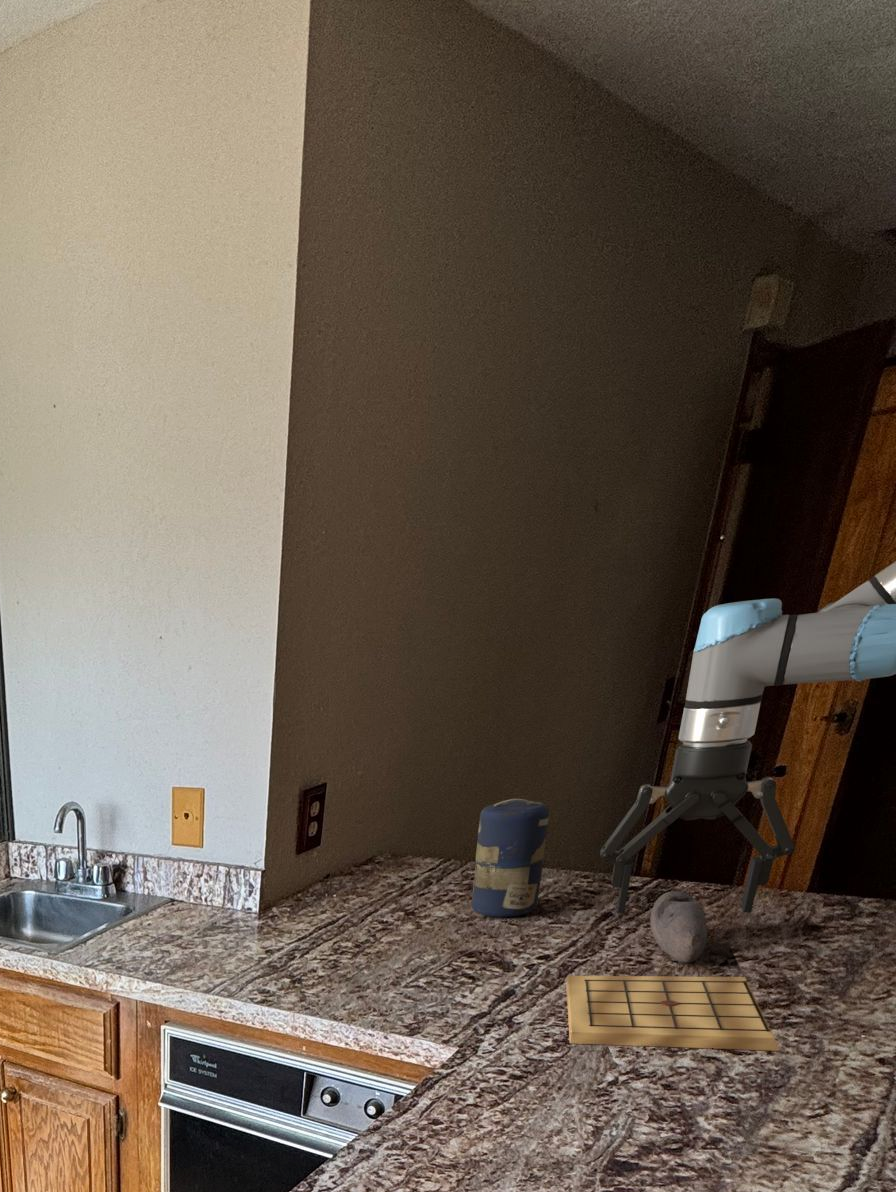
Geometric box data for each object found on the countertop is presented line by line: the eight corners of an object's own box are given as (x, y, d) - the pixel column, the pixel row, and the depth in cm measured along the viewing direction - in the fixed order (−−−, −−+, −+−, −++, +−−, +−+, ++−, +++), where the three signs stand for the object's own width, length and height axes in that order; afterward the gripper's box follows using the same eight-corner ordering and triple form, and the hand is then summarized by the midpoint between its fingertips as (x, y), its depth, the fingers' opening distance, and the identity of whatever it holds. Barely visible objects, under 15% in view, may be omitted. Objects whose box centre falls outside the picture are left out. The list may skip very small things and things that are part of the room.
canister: (485, 902, 167) (495, 792, 159) (547, 906, 160) (561, 791, 153) (460, 918, 162) (470, 804, 154) (523, 922, 155) (537, 804, 147)
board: (759, 988, 120) (762, 976, 120) (791, 1051, 105) (795, 1037, 104) (566, 986, 130) (567, 974, 129) (569, 1043, 115) (571, 1030, 114)
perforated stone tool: (712, 971, 127) (722, 917, 124) (662, 971, 129) (671, 919, 126) (689, 936, 139) (698, 887, 136) (644, 938, 141) (652, 889, 138)
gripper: (596, 754, 126) (572, 918, 135) (854, 736, 114) (808, 917, 123) (593, 745, 131) (570, 903, 141) (839, 727, 119) (796, 901, 129)
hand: (681, 910), depth 132 cm, fingers open, 13 cm apart
